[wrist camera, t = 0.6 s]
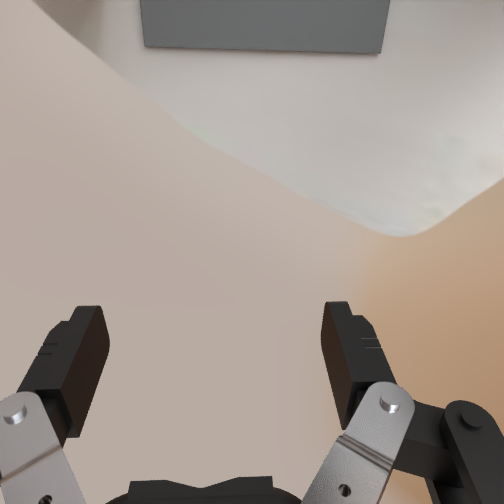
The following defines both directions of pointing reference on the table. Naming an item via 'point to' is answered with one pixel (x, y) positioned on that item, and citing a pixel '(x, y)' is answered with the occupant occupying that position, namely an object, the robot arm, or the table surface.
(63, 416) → the robot arm
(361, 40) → the mat
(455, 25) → the table surface
